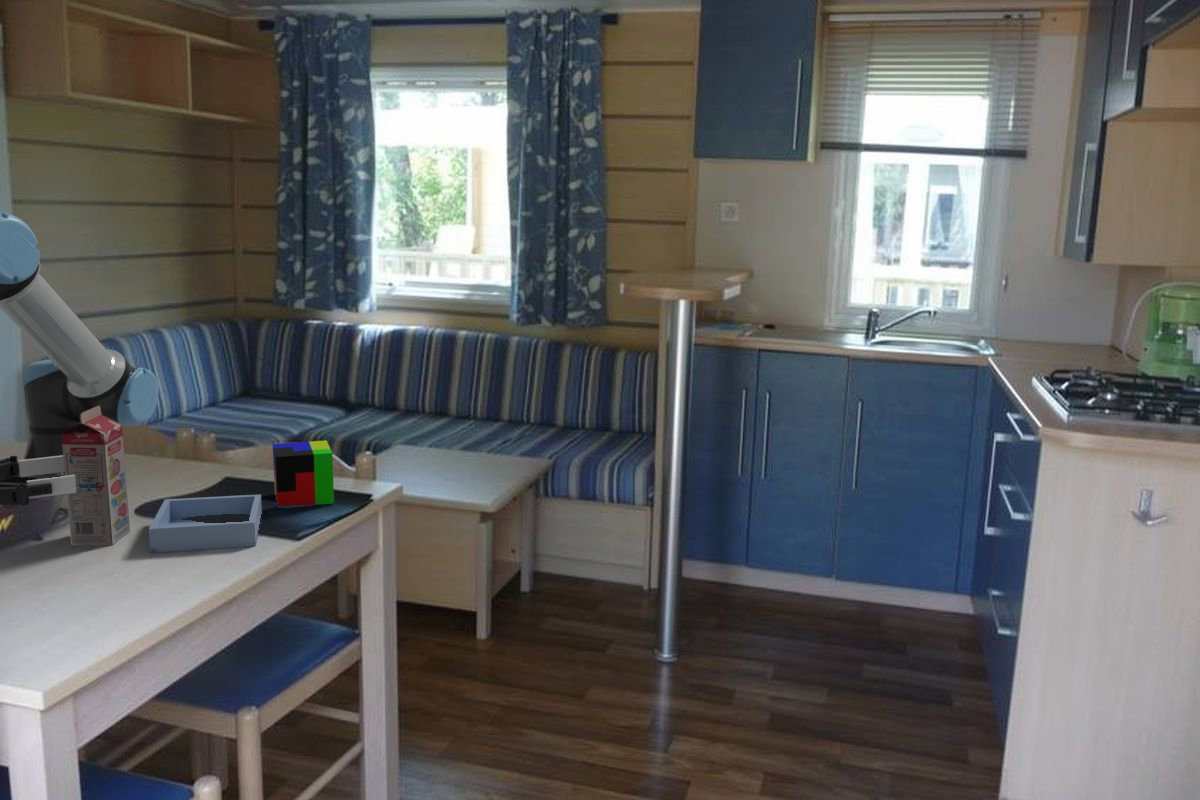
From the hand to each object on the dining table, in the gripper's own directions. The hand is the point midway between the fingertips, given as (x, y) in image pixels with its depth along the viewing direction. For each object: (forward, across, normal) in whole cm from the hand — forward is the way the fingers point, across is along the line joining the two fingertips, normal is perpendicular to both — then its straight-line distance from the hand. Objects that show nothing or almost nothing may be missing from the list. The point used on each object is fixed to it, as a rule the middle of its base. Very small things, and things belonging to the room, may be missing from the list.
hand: (69, 473), depth 161 cm
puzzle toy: (+39, -5, -12) cm, 41 cm away
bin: (+20, +6, -12) cm, 24 cm away
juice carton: (+4, 0, -12) cm, 13 cm away
